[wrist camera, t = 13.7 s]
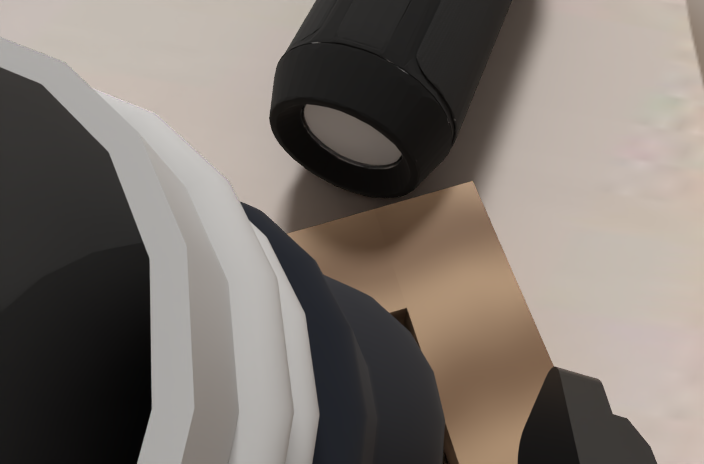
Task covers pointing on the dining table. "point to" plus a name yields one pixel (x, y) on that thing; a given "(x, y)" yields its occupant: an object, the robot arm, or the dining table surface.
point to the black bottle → (175, 305)
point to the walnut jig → (447, 309)
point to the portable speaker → (381, 88)
